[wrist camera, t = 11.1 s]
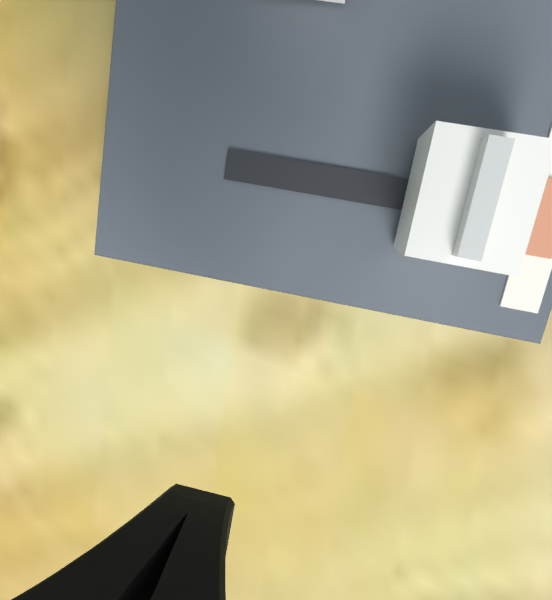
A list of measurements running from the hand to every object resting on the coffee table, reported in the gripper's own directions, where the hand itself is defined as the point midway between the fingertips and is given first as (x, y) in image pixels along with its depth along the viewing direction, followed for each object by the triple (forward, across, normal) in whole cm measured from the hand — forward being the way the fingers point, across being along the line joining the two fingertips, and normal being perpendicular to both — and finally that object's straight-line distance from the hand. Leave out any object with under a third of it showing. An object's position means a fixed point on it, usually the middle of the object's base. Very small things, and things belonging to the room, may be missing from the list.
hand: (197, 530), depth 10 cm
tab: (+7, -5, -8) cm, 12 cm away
